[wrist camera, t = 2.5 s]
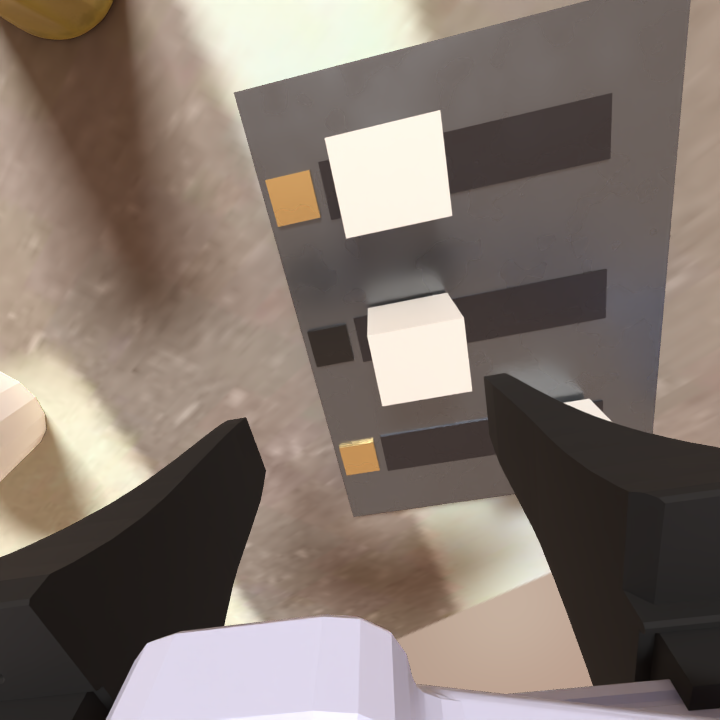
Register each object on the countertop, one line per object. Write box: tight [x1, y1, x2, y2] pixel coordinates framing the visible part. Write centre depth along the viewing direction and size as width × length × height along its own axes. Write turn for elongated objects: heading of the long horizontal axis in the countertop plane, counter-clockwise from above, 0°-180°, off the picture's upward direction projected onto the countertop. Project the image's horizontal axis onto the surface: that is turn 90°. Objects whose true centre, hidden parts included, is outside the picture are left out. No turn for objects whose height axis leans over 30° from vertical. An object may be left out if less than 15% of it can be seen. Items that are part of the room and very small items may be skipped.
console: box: [234, 0, 690, 517], centre depth 19 cm, size 16×21×2 cm
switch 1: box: [325, 110, 452, 239], centre depth 14 cm, size 4×3×4 cm
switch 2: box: [367, 293, 472, 406], centre depth 17 cm, size 4×3×4 cm
